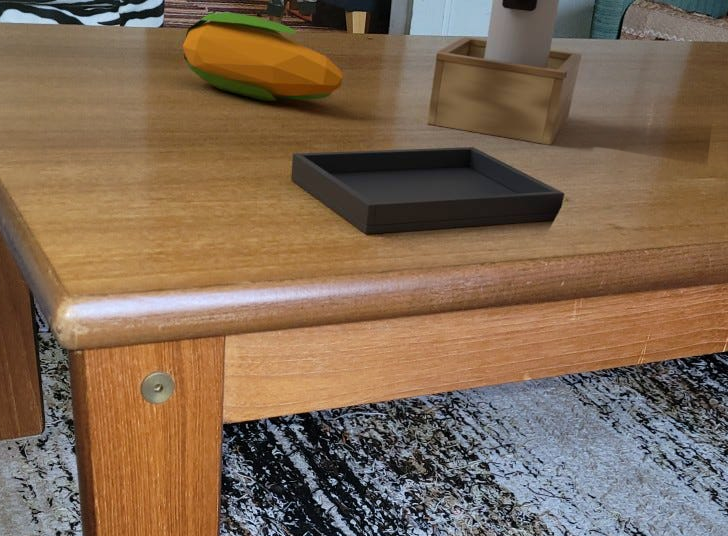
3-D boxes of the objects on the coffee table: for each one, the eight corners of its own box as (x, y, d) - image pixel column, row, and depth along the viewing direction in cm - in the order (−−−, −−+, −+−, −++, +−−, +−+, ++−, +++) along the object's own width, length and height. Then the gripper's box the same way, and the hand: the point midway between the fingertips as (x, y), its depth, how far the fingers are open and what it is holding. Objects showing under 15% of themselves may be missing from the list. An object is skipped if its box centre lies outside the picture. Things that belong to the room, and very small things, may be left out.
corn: (211, -3, 106) (368, 28, 97) (212, 73, 110) (363, 109, 102) (164, 7, 101) (326, 41, 92) (168, 86, 105) (322, 125, 97)
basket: (568, 120, 107) (582, 54, 103) (550, 145, 97) (565, 72, 93) (454, 101, 110) (464, 36, 106) (425, 124, 100) (435, 52, 96)
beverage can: (474, 82, 99) (494, -57, 92) (489, 73, 104) (509, -59, 97) (536, 91, 98) (561, -50, 91) (549, 81, 103) (573, -53, 96)
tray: (469, 171, 87) (473, 146, 86) (558, 220, 77) (565, 193, 76) (290, 180, 80) (292, 153, 79) (365, 234, 70) (369, 205, 69)
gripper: (594, -231, 79) (549, 19, 89) (615, -213, 93) (574, 2, 103) (502, -237, 81) (468, 9, 91) (536, -218, 95) (503, -6, 105)
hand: (525, 4), depth 97 cm, fingers closed on beverage can, 6 cm apart
